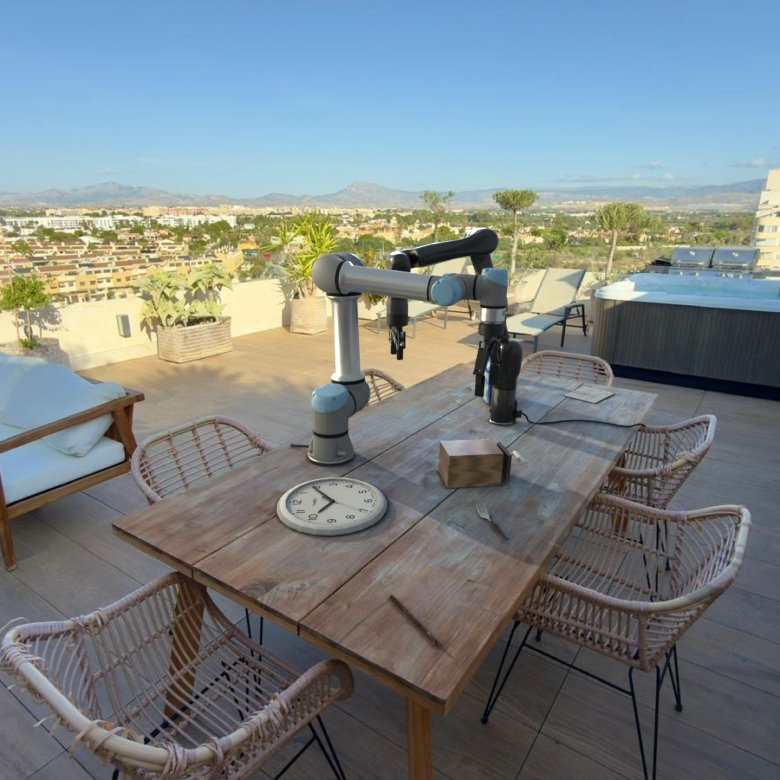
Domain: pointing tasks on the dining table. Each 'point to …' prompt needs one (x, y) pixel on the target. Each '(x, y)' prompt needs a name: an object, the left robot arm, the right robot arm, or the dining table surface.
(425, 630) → the dark brown rod
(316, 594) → the dining table surface
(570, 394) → the invitation card
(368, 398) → the left robot arm
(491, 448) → the cabinet
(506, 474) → the drawer
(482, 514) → the fork
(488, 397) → the lunch box
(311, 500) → the wall clock
